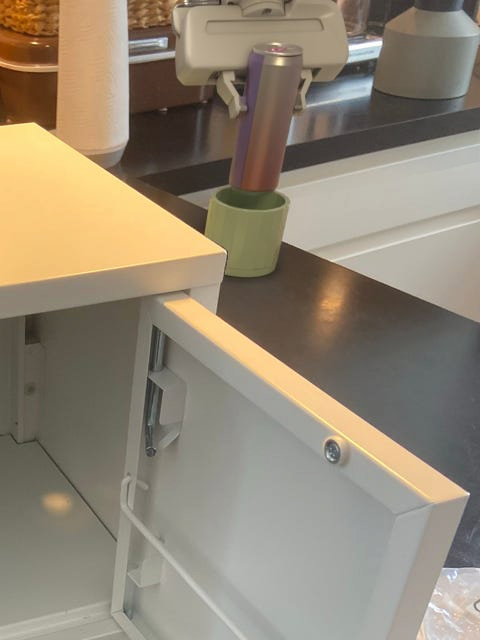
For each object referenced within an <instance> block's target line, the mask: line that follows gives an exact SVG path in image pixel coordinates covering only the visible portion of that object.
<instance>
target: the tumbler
mask: <svg viewBox="0 0 480 640" xmlns="http://www.w3.org/2000/svg"><path fill="white" fill-rule="evenodd" d="M290 205H291V200H290V198H289V197H288V196H287V195H286V194H284V193H282V192H280V191H278V190H276V189H275V190H274V191H273V192H272V193H271V194H268V195H264V196H250V195H244V194H240V193H237V192H235V191H233V190H232V189H231V187H230V185H226V186H222V187H221V186H220V187H218V188H216V189H214V190H213V191H212V192H211V193H210V199H209V203H208V210H207V216H206V222H205V229H204V235H205V236H207V237H208V238H209V239H211V240H213V241H214V242H216V243H218V244H219V245H221V246H223V247H224V248H225V249H226V250H227V251H228V260H227V266H226V270H225V274H224V275H223V276H229V277H234V278H258V277H263V276H267V275H270V274H272V273H273V272H274V271H275V270H276V268H277V264H278V261H279V256H280V252H281V248H282V242H283V238H284V235H285V228H286V224H287V220H288V215H289V212H290V211H289V210H290ZM204 235H203V236H204Z"/></svg>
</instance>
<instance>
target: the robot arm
mask: <svg viewBox="0 0 480 640" xmlns="http://www.w3.org/2000/svg"><path fill="white" fill-rule="evenodd" d="M170 22H171V23H170V24H171V30H172V33H173V34H174V36H175V47H174V48H175V49H174V50H175V52H174V58H175V59H174V61H175V76H176V79H177V80H178V81H179V82H180V83H181V84H182V85H183V86H185V87H186V86H187V87H188V86H216V93H217V94H218V95H219V97H220V98H221V99H222V100H223V102H224V103H225V104H226V105H227V107H228V113H229V119H231V120H232V119H239V118H243V117H244V115H245V114H246V113H247V109H248V107H247V104H246V97H245V96H243V95H240V93H239V92H238V90H236V87H235V86H234V85H245V82H246V76H247V70H248V65H249V59H250V56H251V54H252V52H253V46H254V45H255V44H258V43H265V42H279V43H288V44H294V45H297V46H300V47H302V48H303V49H304V53H303V66H302V71H301V76H300V81H299V86H298V91H297V96H296V100H295V105H294V110H293V115H292V118H294V117H302V116H303V115H304V113H305V112H306V110H307V100H306V95H307V92H308V90H309V87H310V85H311V83H314V82H315V83H316V82H317V83H318V82H319V83H320V82H322V83H323V82H331V81H333V80H334V79H335V78H336V77H337V76H338V75H339V74H340V73H341V71H342V70H343V69H344V67H345V66H346V64H347V62H348V60H349V57H350V47H349V40H348V39H349V38H348V34H347V29H346V24H345V19H344V16H343V12H342V10H341V8H340V7H339V5H338V4H337V3H336V2H335V1H333V0H181V2H179V3H177V4H176V5H174V7H173V8H172V10H171V12H170Z"/></svg>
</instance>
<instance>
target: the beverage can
mask: <svg viewBox="0 0 480 640" xmlns="http://www.w3.org/2000/svg"><path fill="white" fill-rule="evenodd" d="M303 53H304V49H303V48H302V47H300V46H297V45H294V44H288V43H279V42H265V43H258V44H255V45H254V46H253V52H252V54H251V56H250V59H249V65H248V70H247V76H246V82H245V84H244V88H243V89H244V90H243V95H242V96H245V97H246V104H247V107H248V109H247V113H246V114H245V115H244V117H243V118H238V123H237V129H236V135H235V141H234V148H233V153H232V159H231V164H230V171H229V176H228V184H229V186H230V187H231V189H232V190H233V191H235V192H237V193H240V194H244V195H250V196H264V195H268V194H271V193H272V192H273V191H274V190H275V191H276V189H277V188H278V186H279V183H280V178H281V173H282V168H283V164H284V158H285V153H286V148H287V145H288V139H289V134H290V129H291V124H292V119H293V117H292V115H293V110H294V105H295V100H296V96H297V91H298V86H299V81H300V76H301V71H302V66H303Z"/></svg>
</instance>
